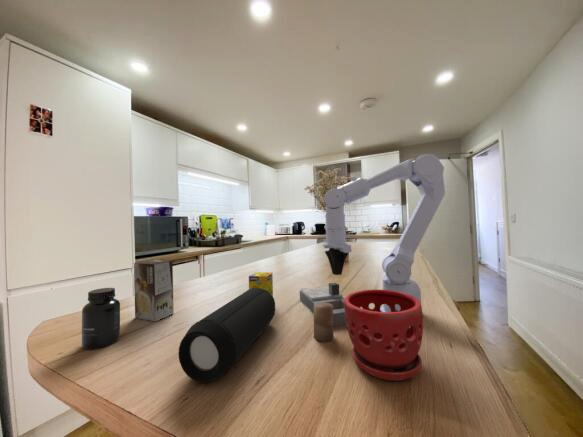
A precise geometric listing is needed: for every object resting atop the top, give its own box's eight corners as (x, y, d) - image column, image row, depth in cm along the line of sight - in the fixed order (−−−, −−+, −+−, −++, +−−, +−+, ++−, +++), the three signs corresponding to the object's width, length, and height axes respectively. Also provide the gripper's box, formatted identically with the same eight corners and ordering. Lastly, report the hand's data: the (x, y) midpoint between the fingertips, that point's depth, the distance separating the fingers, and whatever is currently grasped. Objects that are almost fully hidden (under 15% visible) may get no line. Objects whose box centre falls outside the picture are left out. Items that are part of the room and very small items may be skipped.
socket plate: (327, 296, 82) (327, 287, 82) (363, 321, 61) (363, 309, 61) (299, 299, 80) (299, 290, 80) (326, 326, 58) (326, 314, 58)
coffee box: (175, 313, 70) (174, 260, 70) (155, 322, 64) (154, 263, 64) (153, 310, 73) (152, 259, 74) (133, 318, 67) (132, 262, 68)
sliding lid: (327, 288, 82) (327, 277, 82) (342, 296, 71) (341, 284, 71) (300, 291, 79) (300, 279, 79) (311, 300, 69) (311, 287, 69)
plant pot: (368, 339, 51) (366, 284, 52) (435, 364, 42) (432, 297, 42) (332, 364, 42) (329, 298, 43) (406, 404, 33) (403, 318, 33)
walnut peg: (327, 331, 56) (327, 301, 56) (337, 339, 52) (336, 307, 52) (310, 334, 54) (310, 303, 55) (319, 342, 50) (318, 309, 50)
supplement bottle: (76, 354, 49) (76, 296, 49) (87, 340, 55) (86, 289, 55) (117, 345, 52) (116, 291, 52) (122, 333, 58) (122, 284, 58)
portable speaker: (244, 321, 63) (243, 284, 64) (279, 324, 61) (278, 285, 61) (174, 384, 39) (173, 323, 39) (227, 393, 36) (225, 328, 36)
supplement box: (268, 313, 68) (267, 276, 68) (248, 312, 69) (248, 275, 69) (273, 306, 73) (272, 272, 74) (255, 305, 75) (255, 271, 75)
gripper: (314, 229, 76) (315, 270, 76) (334, 230, 62) (335, 280, 62) (334, 228, 78) (335, 269, 78) (357, 229, 64) (359, 278, 64)
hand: (337, 274), depth 70 cm, fingers closed
